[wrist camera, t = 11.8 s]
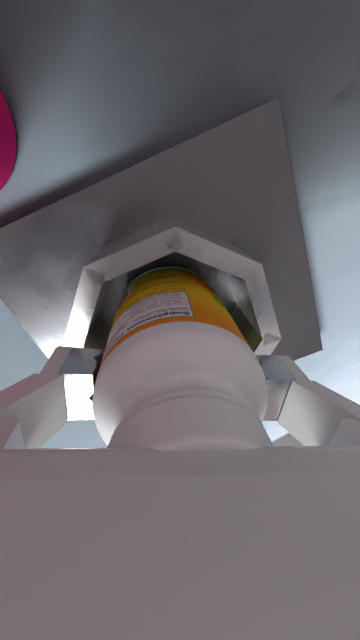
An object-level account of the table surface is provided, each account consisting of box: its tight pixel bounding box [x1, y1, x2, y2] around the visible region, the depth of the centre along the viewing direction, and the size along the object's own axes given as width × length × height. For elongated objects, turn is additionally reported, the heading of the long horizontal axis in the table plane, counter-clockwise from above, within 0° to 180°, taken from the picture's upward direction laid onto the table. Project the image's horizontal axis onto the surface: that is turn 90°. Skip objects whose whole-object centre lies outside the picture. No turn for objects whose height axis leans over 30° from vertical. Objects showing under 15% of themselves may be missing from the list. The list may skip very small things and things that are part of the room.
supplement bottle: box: [92, 266, 273, 451], centre depth 10 cm, size 5×5×10 cm
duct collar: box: [0, 97, 323, 361], centre depth 13 cm, size 16×14×5 cm
